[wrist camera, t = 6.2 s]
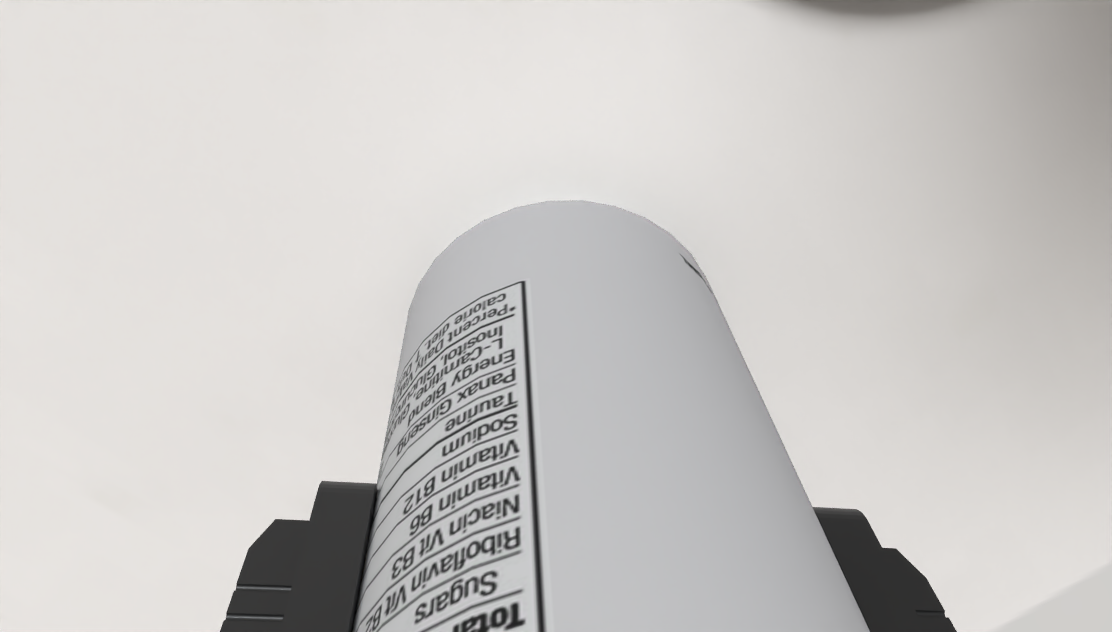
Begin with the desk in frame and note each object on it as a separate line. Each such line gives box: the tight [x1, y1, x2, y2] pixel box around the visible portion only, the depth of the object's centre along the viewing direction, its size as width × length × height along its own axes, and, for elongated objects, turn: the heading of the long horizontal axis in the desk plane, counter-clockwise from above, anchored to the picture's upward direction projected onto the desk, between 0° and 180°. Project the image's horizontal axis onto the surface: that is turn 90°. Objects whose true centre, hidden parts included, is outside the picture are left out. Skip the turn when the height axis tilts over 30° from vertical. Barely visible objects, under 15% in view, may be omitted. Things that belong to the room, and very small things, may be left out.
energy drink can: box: [352, 200, 870, 632], centre depth 10 cm, size 6×6×15 cm
